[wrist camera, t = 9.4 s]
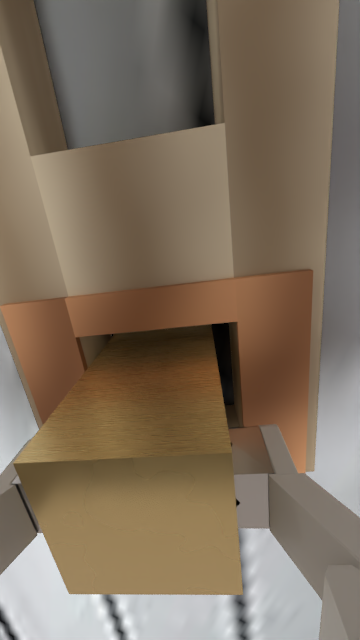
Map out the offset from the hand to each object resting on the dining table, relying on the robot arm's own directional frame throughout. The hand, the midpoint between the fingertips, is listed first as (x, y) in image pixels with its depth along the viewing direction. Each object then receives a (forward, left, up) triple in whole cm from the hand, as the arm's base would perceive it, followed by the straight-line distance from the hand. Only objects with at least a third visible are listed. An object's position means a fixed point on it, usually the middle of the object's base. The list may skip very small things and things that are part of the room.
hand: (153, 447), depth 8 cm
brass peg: (0, 0, -5) cm, 5 cm away
